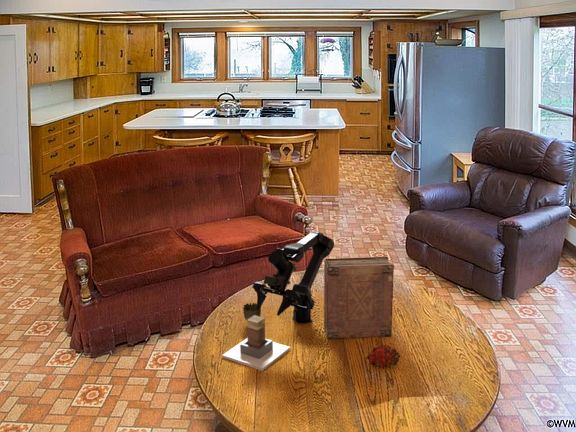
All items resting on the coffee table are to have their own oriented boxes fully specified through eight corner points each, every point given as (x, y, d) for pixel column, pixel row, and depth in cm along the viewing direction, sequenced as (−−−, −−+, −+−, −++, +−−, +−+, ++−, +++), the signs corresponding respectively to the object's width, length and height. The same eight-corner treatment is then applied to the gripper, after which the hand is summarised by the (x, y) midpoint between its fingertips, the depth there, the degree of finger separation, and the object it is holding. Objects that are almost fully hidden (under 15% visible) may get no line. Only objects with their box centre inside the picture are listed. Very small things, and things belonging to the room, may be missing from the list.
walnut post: (255, 346, 221) (254, 315, 217) (265, 349, 218) (264, 317, 215) (248, 351, 217) (247, 319, 213) (258, 355, 215) (257, 322, 211)
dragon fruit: (402, 371, 208) (368, 375, 209) (398, 349, 213) (365, 353, 214) (402, 361, 201) (367, 365, 202) (398, 339, 206) (363, 343, 207)
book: (385, 326, 238) (388, 256, 230) (391, 336, 230) (394, 264, 221) (323, 328, 237) (324, 258, 228) (327, 339, 228) (327, 267, 220)
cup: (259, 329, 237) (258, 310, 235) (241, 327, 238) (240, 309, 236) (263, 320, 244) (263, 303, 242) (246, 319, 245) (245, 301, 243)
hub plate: (251, 337, 230) (251, 327, 229) (290, 349, 221) (290, 338, 219) (222, 357, 215) (222, 346, 214) (262, 370, 206) (262, 359, 205)
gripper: (254, 261, 225) (237, 298, 219) (295, 271, 215) (279, 309, 209) (266, 274, 233) (250, 310, 228) (306, 283, 224) (291, 321, 218)
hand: (267, 312), depth 220 cm, fingers open, 9 cm apart
